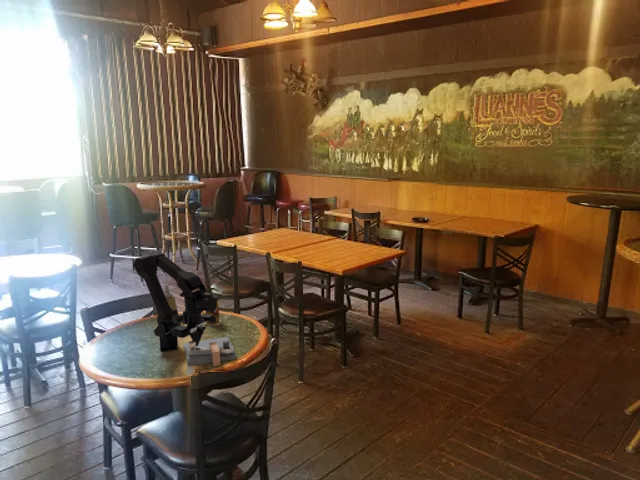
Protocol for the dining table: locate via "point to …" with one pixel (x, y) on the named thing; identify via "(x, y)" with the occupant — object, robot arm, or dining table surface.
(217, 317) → the condiment
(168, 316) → the robot arm
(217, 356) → the bracket
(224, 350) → the swing arm
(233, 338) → the dining table surface
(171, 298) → the squeeze bottle
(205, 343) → the slate board
